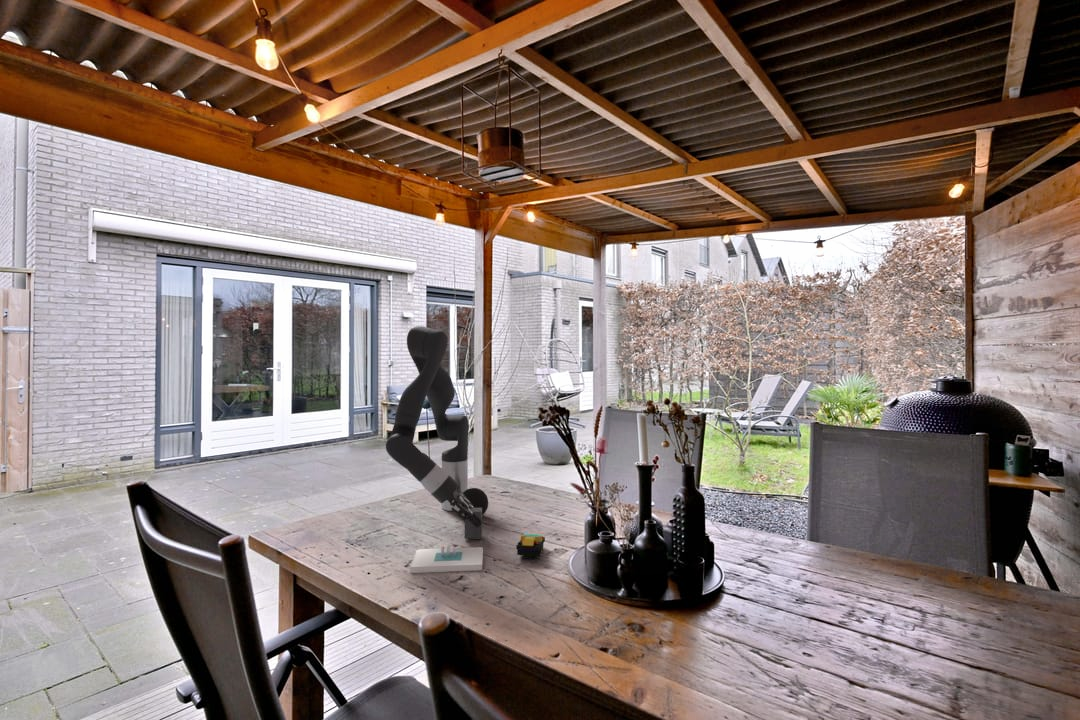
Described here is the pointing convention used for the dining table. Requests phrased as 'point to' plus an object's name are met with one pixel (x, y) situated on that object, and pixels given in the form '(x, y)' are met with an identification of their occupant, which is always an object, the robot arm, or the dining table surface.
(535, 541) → the black bowl with blocks
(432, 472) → the robot arm
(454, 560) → the board
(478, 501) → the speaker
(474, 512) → the block
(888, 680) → the dining table surface
